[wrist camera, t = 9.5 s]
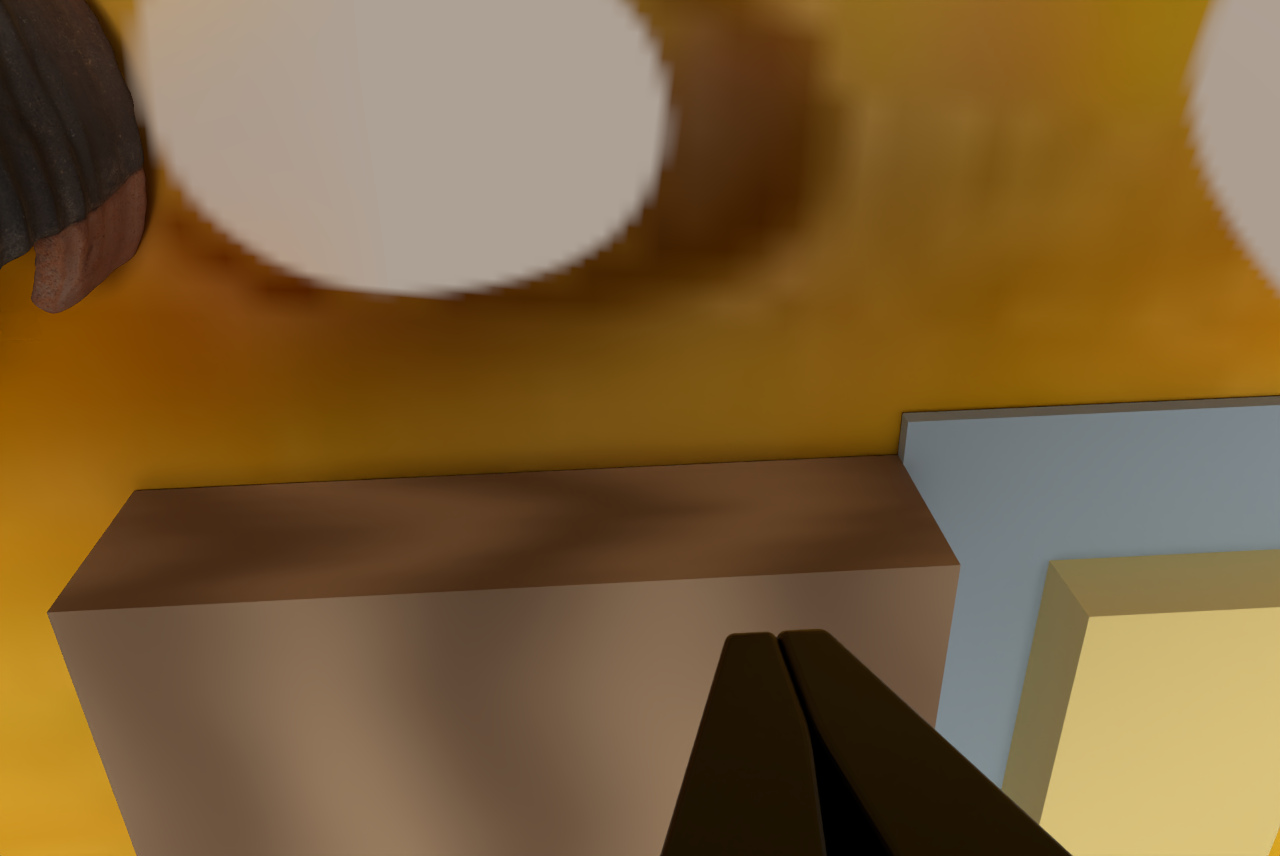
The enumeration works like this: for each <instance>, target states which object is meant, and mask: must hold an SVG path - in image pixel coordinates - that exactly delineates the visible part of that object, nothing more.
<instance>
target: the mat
mask: <svg viewBox="0 0 1280 856" xmlns="http://www.w3.org/2000/svg"><path fill="white" fill-rule="evenodd" d="M898 456H899V458H900V459H901V461H902V463H903V465H904V466H905V468H906V470H907V472H908V473H909V475H910V477H911V479H912V480H913V482H914V484H915V486H916V487H917V489H918V491H919V493H920V494H921V496H922V498H923V500H924V501H925V503H926V505H927V507H928V508H929V510H930V512H931V514H932V515H933V517H934V519H935V521H936V522H937V524H938V526H939V528H940V529H941V531H942V533H943V535H944V537H945V538H946V540H947V542H948V544H949V545H950V547H951V549H952V551H953V552H954V554H955V556H956V558H957V559H958V561H959V563H960V565H961V567H960V573H959V579H958V586H957V592H956V598H955V605H954V611H953V617H952V624H951V630H950V637H949V643H948V649H947V656H946V662H945V668H944V675H943V681H942V687H941V694H940V700H939V707H938V713H937V719H936V726H935V730H936V731H937V732H938V733H940V734H941V735H942V736H943V737H944V738H945V739H946V740H947V741H948V742H949V743H950V744H952V745H953V746H954V747H955V748H956V749H957V750H958V751H959V752H960V753H961V754H962V755H964V756H965V757H966V758H967V759H968V760H969V761H970V762H971V763H972V764H973V765H974V766H976V767H977V768H978V769H979V770H980V771H981V772H982V773H983V774H984V775H985V776H986V777H988V778H989V779H990V780H991V781H992V782H993V783H994V784H995V785H996V786H997V787H998V788H1000V789H1002V784H1003V779H1004V774H1005V770H1006V765H1007V760H1008V755H1009V751H1010V746H1011V741H1012V736H1013V732H1014V727H1015V722H1016V717H1017V713H1018V708H1019V703H1020V698H1021V694H1022V689H1023V684H1024V679H1025V675H1026V670H1027V665H1028V660H1029V656H1030V651H1031V646H1032V641H1033V637H1034V632H1035V627H1036V622H1037V618H1038V613H1039V608H1040V603H1041V599H1042V594H1043V589H1044V584H1045V580H1046V575H1047V570H1048V566H1049V561H1050V560H1069V559H1089V558H1109V557H1130V556H1150V555H1170V554H1190V553H1211V552H1231V551H1251V550H1271V549H1280V396H1269V397H1247V398H1225V399H1203V400H1181V401H1159V402H1137V403H1115V404H1093V405H1071V406H1049V407H1027V408H1005V409H983V410H961V411H939V412H917V413H903V414H902V423H901V432H900V441H899V449H898Z"/></svg>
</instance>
